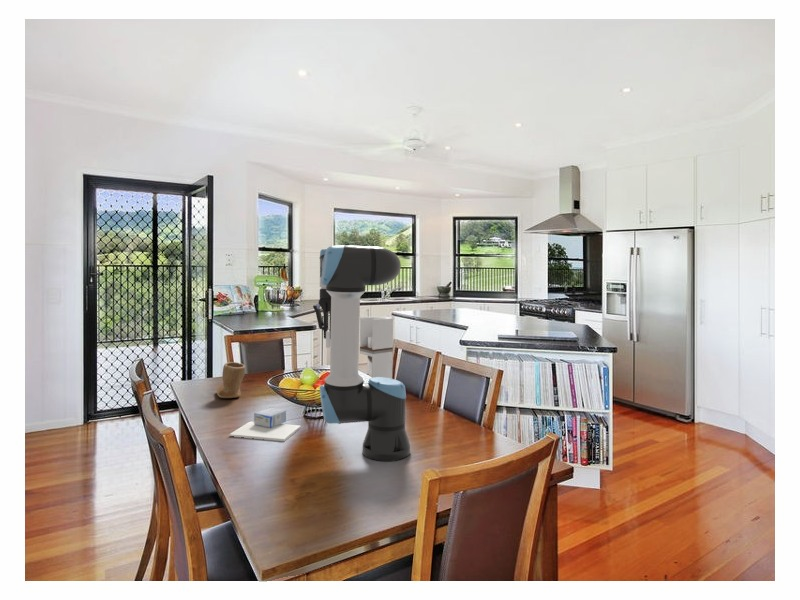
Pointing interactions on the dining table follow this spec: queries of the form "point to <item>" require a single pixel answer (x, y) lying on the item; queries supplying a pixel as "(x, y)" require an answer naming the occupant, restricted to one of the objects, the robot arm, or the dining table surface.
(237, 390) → the tan boot
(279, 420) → the medicine box
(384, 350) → the display case
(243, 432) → the cutting board
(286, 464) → the dining table surface
